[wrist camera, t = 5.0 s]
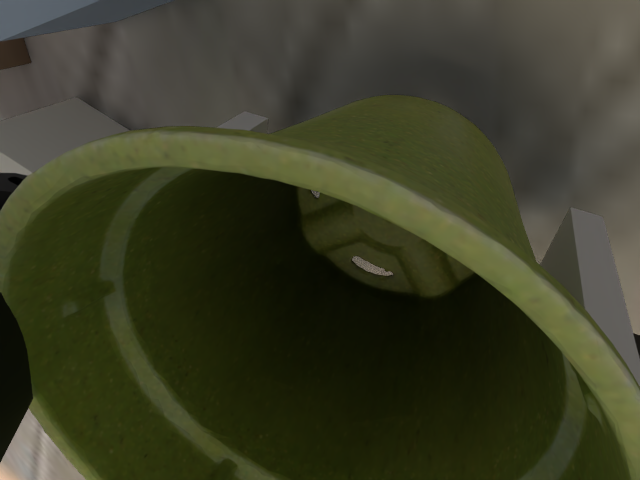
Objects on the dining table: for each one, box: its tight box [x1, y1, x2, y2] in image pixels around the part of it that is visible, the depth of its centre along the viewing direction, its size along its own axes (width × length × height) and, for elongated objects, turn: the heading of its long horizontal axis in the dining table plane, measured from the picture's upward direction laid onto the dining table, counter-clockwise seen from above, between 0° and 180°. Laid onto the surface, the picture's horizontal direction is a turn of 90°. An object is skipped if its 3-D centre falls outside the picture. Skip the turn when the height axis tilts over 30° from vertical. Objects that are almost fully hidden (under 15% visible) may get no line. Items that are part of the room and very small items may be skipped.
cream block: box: [0, 97, 130, 176], centre depth 20 cm, size 5×5×5 cm
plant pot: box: [0, 95, 640, 480], centre depth 10 cm, size 9×9×9 cm
